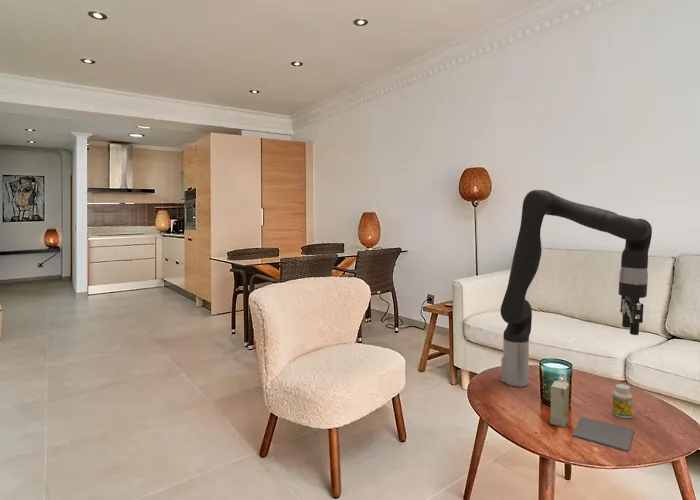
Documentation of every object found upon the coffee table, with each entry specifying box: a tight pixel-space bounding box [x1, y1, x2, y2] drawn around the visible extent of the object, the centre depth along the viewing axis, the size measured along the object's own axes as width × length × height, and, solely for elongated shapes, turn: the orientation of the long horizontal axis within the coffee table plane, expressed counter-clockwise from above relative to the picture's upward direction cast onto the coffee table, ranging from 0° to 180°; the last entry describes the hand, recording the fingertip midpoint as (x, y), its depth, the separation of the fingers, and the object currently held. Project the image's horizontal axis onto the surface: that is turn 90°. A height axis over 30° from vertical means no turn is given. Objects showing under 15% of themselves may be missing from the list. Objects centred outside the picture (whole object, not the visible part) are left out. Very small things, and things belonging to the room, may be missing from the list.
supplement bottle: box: [612, 383, 633, 419], centre depth 136 cm, size 5×5×10 cm
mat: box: [571, 416, 635, 453], centre depth 125 cm, size 14×14×1 cm
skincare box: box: [549, 380, 570, 428], centre depth 132 cm, size 6×4×12 cm
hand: (629, 330), depth 135 cm, fingers open, 8 cm apart
